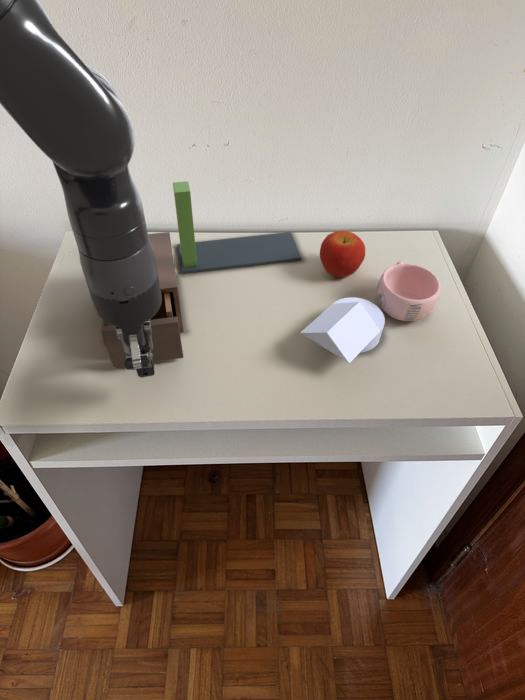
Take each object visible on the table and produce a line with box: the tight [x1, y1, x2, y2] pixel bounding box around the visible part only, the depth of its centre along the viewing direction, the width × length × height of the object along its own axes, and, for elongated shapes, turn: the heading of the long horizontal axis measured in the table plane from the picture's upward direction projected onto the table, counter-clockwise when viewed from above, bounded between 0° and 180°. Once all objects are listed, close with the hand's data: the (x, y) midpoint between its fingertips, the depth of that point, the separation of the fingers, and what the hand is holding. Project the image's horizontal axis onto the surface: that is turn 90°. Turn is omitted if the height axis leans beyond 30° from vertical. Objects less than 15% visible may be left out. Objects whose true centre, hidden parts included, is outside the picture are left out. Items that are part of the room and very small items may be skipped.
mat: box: [177, 231, 302, 275], centre depth 93 cm, size 22×8×1 cm, turn 102°
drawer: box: [101, 292, 184, 369], centre depth 75 cm, size 14×10×8 cm
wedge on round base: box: [300, 296, 386, 364], centre depth 77 cm, size 9×7×13 cm
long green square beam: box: [172, 180, 197, 267], centre depth 85 cm, size 2×3×15 cm
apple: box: [319, 230, 366, 278], centre depth 87 cm, size 8×8×8 cm
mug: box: [376, 260, 442, 322], centre depth 83 cm, size 12×10×6 cm
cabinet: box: [102, 231, 184, 333], centre depth 79 cm, size 14×12×10 cm
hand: (146, 372), depth 67 cm, fingers closed
